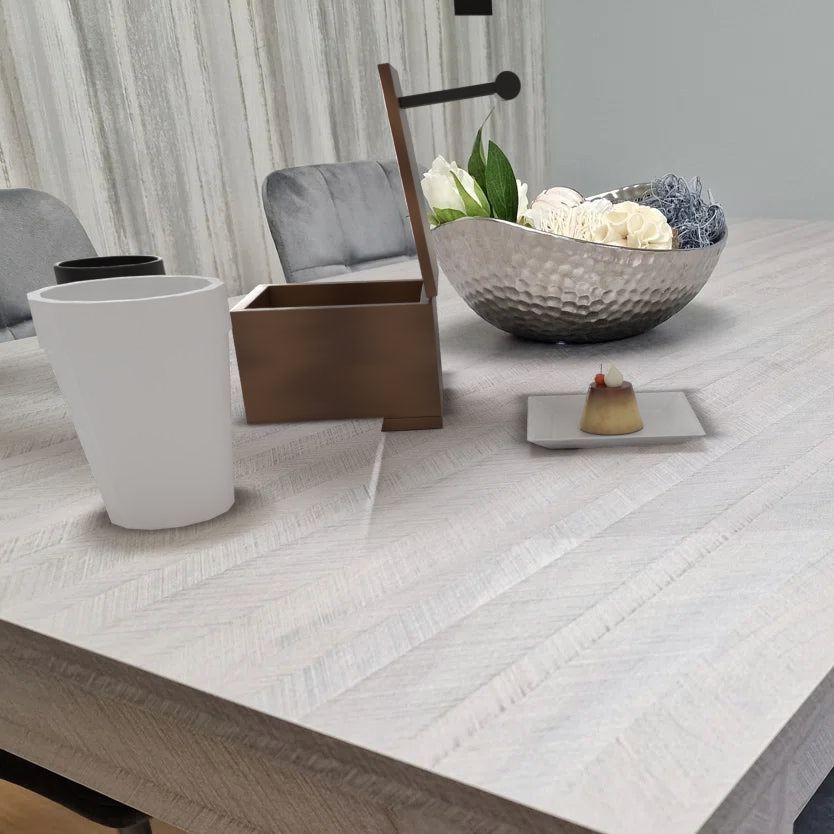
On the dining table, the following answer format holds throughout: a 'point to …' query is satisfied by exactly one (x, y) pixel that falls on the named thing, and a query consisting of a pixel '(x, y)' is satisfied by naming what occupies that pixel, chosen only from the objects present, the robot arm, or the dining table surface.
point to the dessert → (611, 417)
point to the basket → (340, 353)
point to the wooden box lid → (396, 105)
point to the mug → (108, 268)
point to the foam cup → (146, 391)
